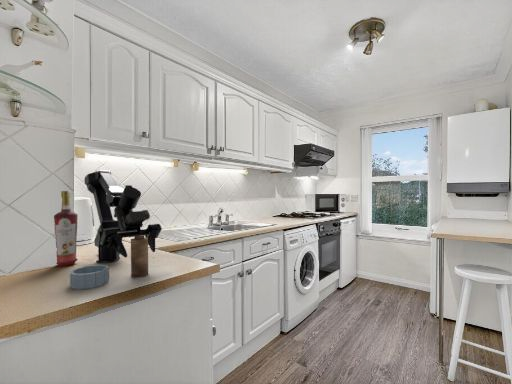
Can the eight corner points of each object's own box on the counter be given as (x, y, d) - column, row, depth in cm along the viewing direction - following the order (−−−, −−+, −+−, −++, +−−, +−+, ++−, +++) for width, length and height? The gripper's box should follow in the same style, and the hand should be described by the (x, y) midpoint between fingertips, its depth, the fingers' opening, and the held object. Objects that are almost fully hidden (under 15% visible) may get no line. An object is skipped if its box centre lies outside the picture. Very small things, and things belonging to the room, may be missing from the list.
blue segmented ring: (62, 290, 74) (62, 275, 74) (83, 278, 84) (83, 265, 84) (98, 289, 75) (97, 274, 75) (114, 277, 85) (114, 264, 85)
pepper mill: (128, 278, 84) (127, 237, 84) (135, 272, 90) (134, 234, 90) (145, 277, 85) (144, 237, 85) (150, 272, 90) (150, 234, 90)
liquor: (79, 261, 105) (78, 190, 105) (76, 265, 99) (75, 190, 99) (56, 263, 102) (55, 191, 102) (52, 268, 96) (51, 191, 95)
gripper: (103, 203, 83) (117, 243, 76) (159, 201, 97) (175, 234, 90) (95, 226, 88) (107, 265, 81) (149, 221, 102) (164, 254, 95)
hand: (140, 254), depth 87 cm, fingers open, 9 cm apart
